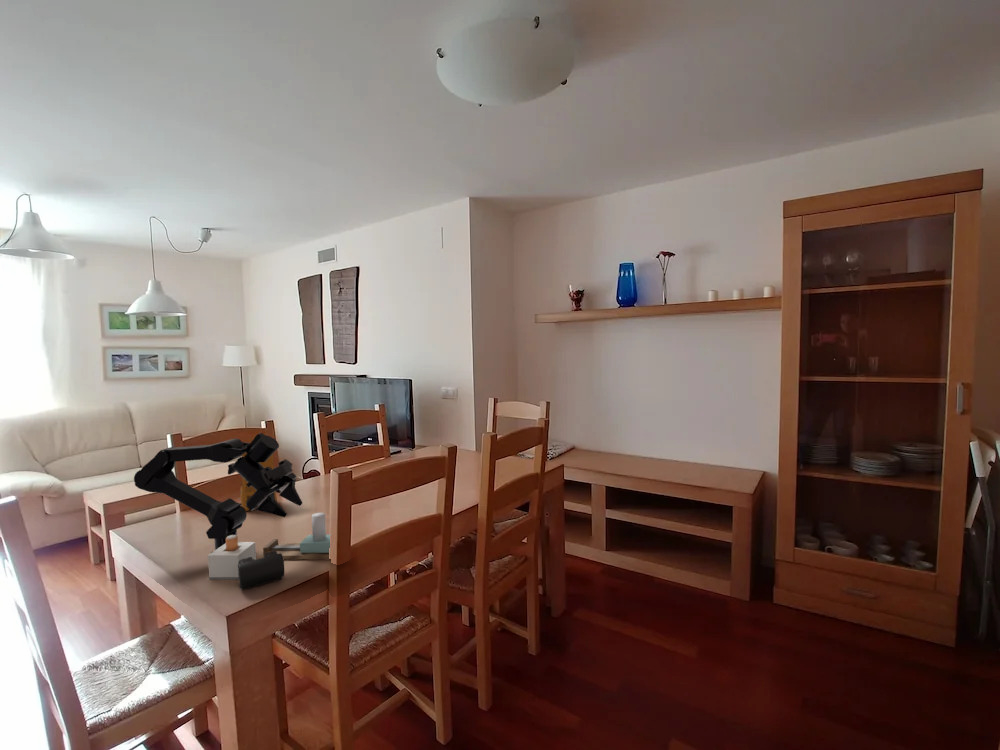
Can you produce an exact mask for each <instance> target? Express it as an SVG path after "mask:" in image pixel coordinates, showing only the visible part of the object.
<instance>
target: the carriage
mask: <svg viewBox="0 0 1000 750" xmlns="http://www.w3.org/2000/svg"><path fill="white" fill-rule="evenodd" d="M311 528H312V529H311V530H312V534H308V535H307V536H306V537H304V539H303V540H302V541H301V542H299V543H300V553H329V548H330V535H331V534H327V529H326V528H327V526H326V513H324V512H315V513H313V514H311Z"/></svg>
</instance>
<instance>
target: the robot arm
mask: <svg viewBox="0 0 1000 750" xmlns="http://www.w3.org/2000/svg"><path fill="white" fill-rule="evenodd" d="M279 447H280V443H279V442H278V441H277V439H275V438H274V437H271V436H269V435H267V434H266V435H265V434H264V433H263V432H259V433H257V434H256V435H255V436H254V438H253V439H252V440H251V442H243V441H242V440H241V439H239V438H232V439H228V440H224V441H221V442H217V443H213V444H203V445H190V446H178V447H177V446H171V447H167V448H164V449H160V450H159V451H158V452H157V453H156V454H155V455H154V457H153V458H152V459H150V460H149V461H148V462H147V463H145V465H144V466H142V468H141V469H139V470H137V471H136V472H135V474H134V476H133V481H134V486H135V487H137V489H139V490H142V491H146V492H148V493H157V494H162V495H163V494H164V495H166V496H168V497H170V498H171V499H173V500H175V501H177V502H179V503H180V504H183V505H184V506H186V507H188V508H191V509H192V510H194V511H196V512H198V513H200V514H202V515H203V516H205V517H206V518H207V520H208V522H209V523H210V525H211V526H210V527H209V528H208V529H207V530H206V532H205V533H206V536H207V538H208V539H209V540H214V550H213V551H215V550H216V549H218V548H219V547H221V546H222V545H224V544H225V543H226V537H227V536H230V535H237V536H238V533H237V532H238V530H239V529H241V528H242V526H243V525H244V522H245V521H246V520H247V511H246V509H245V508H244V507H243V506H241V505H242V504H241V502H240V503H239V502H237V501H235V500H234V499H233V498H231V497H230V498H227V499H226V500H225V499H224V500H223V501H220V500H217V499H215V498H213V497H211V496H209V495H207V494H205V493H204V492H202V491H200V490H198V489H196V488H194V487H193V486H191V485H188V484H186V483H185V482H183V481H181V480H179V479H177V477H176V475H175V473H174V471H173V469H174V468H175V466H176V463H177V462H188V461H189V462H190V461H202V460H207V461H208V460H209V461H212V462H214V463H215V462H216V463H229V462H232V461H234V460H235V462H233V463H230V464H228V465H227V467H228V469H227V475H228V476H229V475H232V474H234V473H238V475H239V476H241V478H242V477H243V478H244V479H245V480H246V481H247V482H248V483H247V485H246V486H248V487H250V486H252V487H254V488H255V489H256V490H257V491H256V492H255V493H254V494H253V495H252V496H251V497H250V498H249V499H248V500H247V501H246V507H247V508H248V509H249V511H251V512H252V511H255V512H262V513H267V514H272V515H275V516H279V517H282V518H286V517H287V516H288V513H287V512H286V510H285V509H284V508H283V507H282V506H281V505H280V503H279V502H278V500H277V501H276V500H275V495H274V492H276V494H279V495H278V496H279V497H282V498H284V499H285V500H287V501H289V502H291V503H293V504H295V505H297V506H299V507H300V506H302V505H303V500H302V499H301V498H300V494H299V492H297V489H296V482H297V475H296V474H295V473H294V472H293V468H292V467H293V463H292V462H290V461H289V460H288V459H286V458H285V459H283V460H281V461H279V462H278V466H276V467H274V469H272V468H270V467H266V468H265V467H263V466H262V465H261V464H260V463H259V462H266V461H267V459H268V458H269V457H270V456H271V455H272V454H273V453H276V451H277V450H278V449H280V448H279ZM245 453H247V454H246V455H245V456H244V457H242V455H243V454H245ZM273 455H274V454H273ZM236 459H237V460H236ZM255 508H256V509H255ZM213 551H211V552H210V554H211V553H212V552H213Z"/></svg>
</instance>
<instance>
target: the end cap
mask: <svg viewBox="0 0 1000 750" xmlns="http://www.w3.org/2000/svg"><path fill="white" fill-rule="evenodd" d="M264 556H265V557H264ZM284 562H285V561H284V560H283V556H282V554H281V553H280V554H278V553H277V552H276V551H272V552H269V553H265V554H264V555H263V557H262V558H258V559H257V558H256V560H253V558H252V557H249V558H245V559H241V560H240V561H239V565H238V572H239V574H238V575H239V580H238V588H239V589H240V590H242V591H243V590H244V591H245V590H248V589H251V588H254V587H258V586H261V585H264V584H268V583H271V582H275V581H276V582H277V581H279V580H282V578H283V577H284V576H285V563H284Z"/></svg>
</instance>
